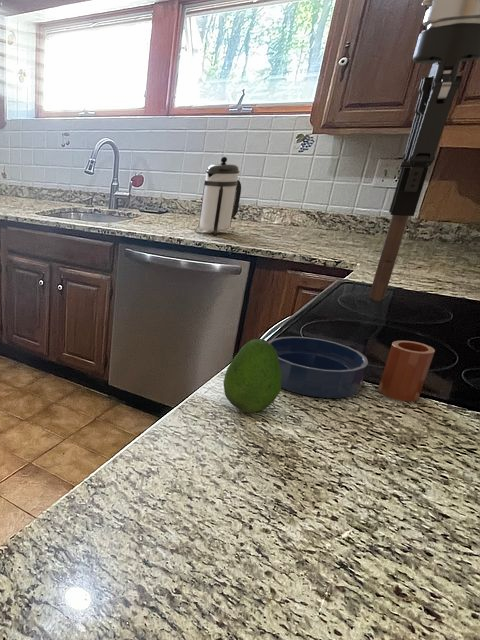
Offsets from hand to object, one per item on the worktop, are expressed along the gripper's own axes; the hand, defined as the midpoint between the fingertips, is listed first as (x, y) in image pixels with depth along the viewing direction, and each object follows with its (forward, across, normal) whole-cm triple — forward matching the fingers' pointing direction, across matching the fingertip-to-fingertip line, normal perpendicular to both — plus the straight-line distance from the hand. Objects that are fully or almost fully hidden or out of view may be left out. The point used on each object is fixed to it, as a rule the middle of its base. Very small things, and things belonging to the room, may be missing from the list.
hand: (401, 213), depth 77 cm
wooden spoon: (+13, 0, 0) cm, 13 cm away
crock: (+29, 0, +7) cm, 30 cm away
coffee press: (+29, -142, -46) cm, 152 cm away
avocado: (+29, +16, -14) cm, 36 cm away
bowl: (+29, 0, -6) cm, 30 cm away
